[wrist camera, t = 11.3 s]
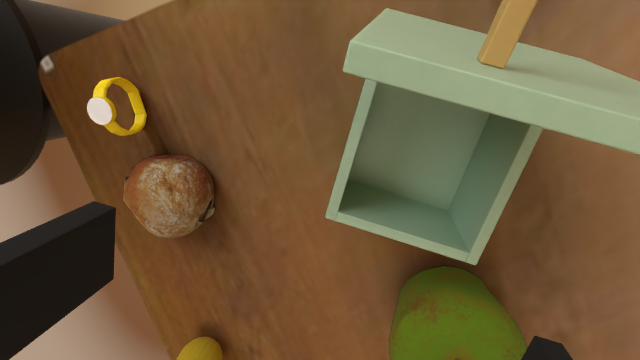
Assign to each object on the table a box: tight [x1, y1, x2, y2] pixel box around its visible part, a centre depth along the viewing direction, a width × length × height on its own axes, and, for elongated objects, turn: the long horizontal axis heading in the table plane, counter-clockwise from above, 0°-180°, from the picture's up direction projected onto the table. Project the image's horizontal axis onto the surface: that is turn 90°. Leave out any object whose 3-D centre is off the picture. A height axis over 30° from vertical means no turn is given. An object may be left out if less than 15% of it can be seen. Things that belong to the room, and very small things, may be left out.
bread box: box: [325, 79, 543, 265], centre depth 30 cm, size 16×13×10 cm
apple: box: [389, 266, 527, 360], centre depth 34 cm, size 12×12×11 cm
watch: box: [87, 77, 147, 136], centre depth 36 cm, size 6×3×6 cm, turn 9°
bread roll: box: [123, 155, 215, 238], centre depth 39 cm, size 10×10×8 cm
